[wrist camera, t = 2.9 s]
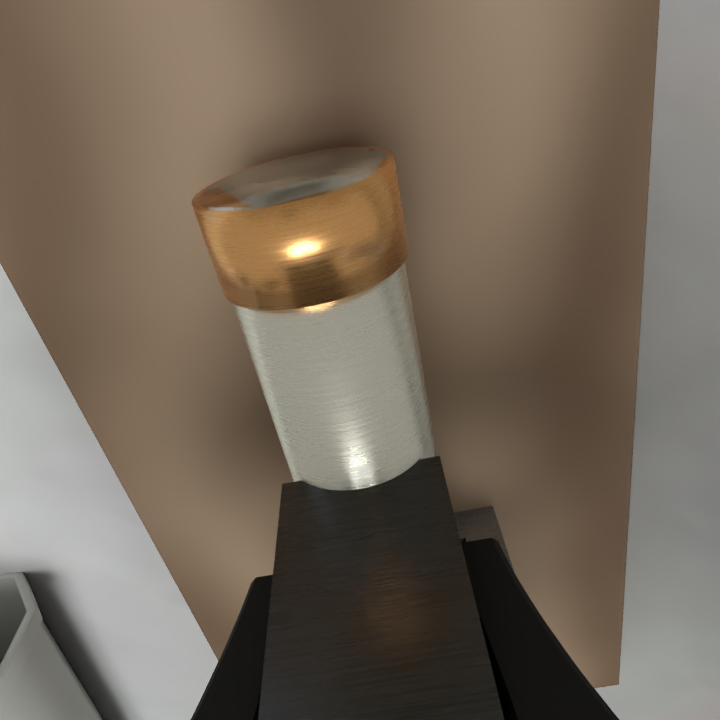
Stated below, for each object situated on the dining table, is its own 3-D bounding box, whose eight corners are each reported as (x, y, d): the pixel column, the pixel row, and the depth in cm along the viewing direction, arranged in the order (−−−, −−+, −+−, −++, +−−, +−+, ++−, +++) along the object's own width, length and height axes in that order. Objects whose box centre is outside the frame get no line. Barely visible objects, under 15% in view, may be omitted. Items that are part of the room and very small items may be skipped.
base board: (673, -943, 7) (724, -1082, 6) (608, 659, 23) (618, 684, 22) (-416, -593, 8) (-512, -670, 7) (263, 712, 24) (261, 738, 23)
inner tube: (385, 135, 10) (477, 346, 4) (479, 708, 20) (551, 1043, 14) (211, 173, 11) (19, 433, 4) (387, 722, 20) (414, 1059, 14)
